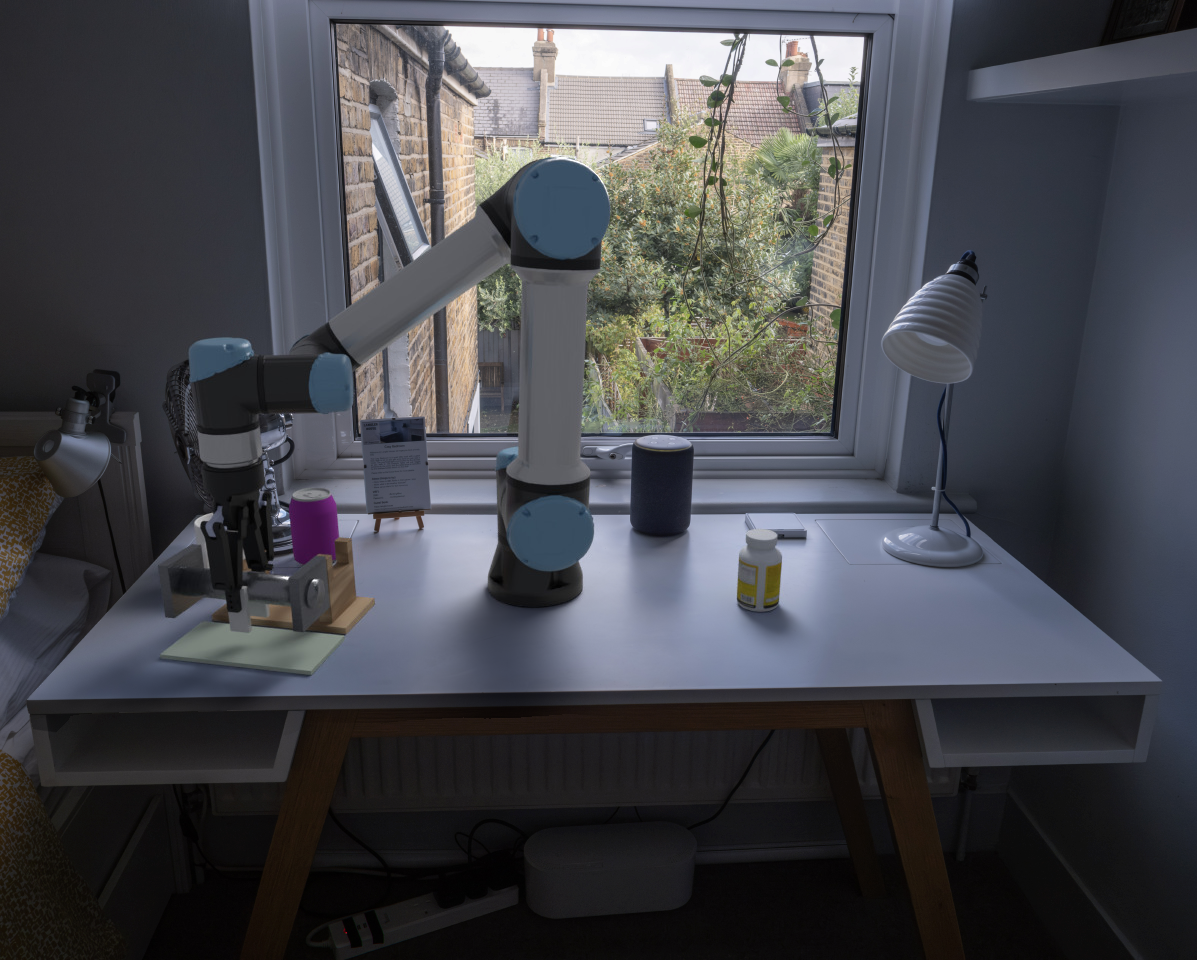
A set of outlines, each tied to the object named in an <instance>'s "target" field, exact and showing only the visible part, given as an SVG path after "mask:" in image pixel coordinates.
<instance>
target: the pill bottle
mask: <svg viewBox="0 0 1197 960" xmlns="http://www.w3.org/2000/svg"><path fill="white" fill-rule="evenodd" d="M745 543H746V545H744V546H743V547H741V549H740V551H739V552H738V553H739V554H738V564H737V565H738V567H737V568H738V569H737V584H736V585H737V586H736V589H737V590H736V601H737V604H738V605H739V606H740V607H741V608H743V609H745V610H748V611H751V612H760V613H762V612H771V611H772V610H775V609H776V608H777V607H778V606H779V603H780V595H781V593H780V592H781V580H782V565H783V564H782V563H783V554H782V552H781V551H780V549H778V548H777V544H778V534H777V533H776V532H775V531H774V530H771V529H767V528H754V529H749V530H748V531H747V532H746V533H745Z"/></svg>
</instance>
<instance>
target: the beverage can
mask: <svg viewBox="0 0 1197 960" xmlns="http://www.w3.org/2000/svg"><path fill="white" fill-rule="evenodd" d="M337 505H338V504H337V502H336V501H335V498H334V496H333V494H332V493H331V490H330V489H328V488H325V487H306V488H302V489H301V488H300V489H298V490H296V491H294V492H293V493H292V494H291V499H290V501H289V506H288V514H289V517H288V518H289V525H290V534H291V535H290V536H291V545H292V552H293V553H292V554H293V559H294V561H295V562H296V563H298V564H299V565H300V566H301V567H303V566H304V565H305V564H306V563H308V562H309V561H310V560H311V559H312V558H314V557H315V556H317V555H318V554H325V555H332V564H333V563H334V562H336V553H335V540H336V539H338V538H339V537H340V530H339V521H338V520H339V518H338V507H337Z"/></svg>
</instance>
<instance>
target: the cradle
mask: <svg viewBox="0 0 1197 960" xmlns="http://www.w3.org/2000/svg"><path fill="white" fill-rule="evenodd" d="M265 552H266V550H265ZM335 553H336V560H335V562H336V563H335V564H333V563H332V555H325V554H318V555H317V556H325V557H326V567H327V580H328V592H329V604H330V607H329V608H328V609H327V610H326V611H325V612H324V613H323V614H322V615H321V616H320V617H319V618H318V619H317V620H316V621H315V622H314V623H313V624H312V625H311V626H309V627H308V628H307V629H306V630H305V631H309V632H311V631H312V632H318V633H328V634H331V633H332V634H338V635H340V634H341V635H347V634H348V633H349V632H350V631H351V630H352V629H353V628H354V627H355V626H356V625H357V623H359V622H360V620H361V619H362V618H364V617H365V615H366V614H367V613H368V612H369V611H370V610H371V609H372V608H373V607H374V606H375V605H376V600H375V599H376V598H375V597H367V596H365V597H364V596H357V590H356V589H357V588H356V577H355V576H356V575H355V566H354V562H355V561H354V554H353V553H354V551H353V539H352V537H341V536H339V538H338V539H336V540H335ZM268 564H270V563H269V562H268ZM246 571H251V569H249V568H248V566H247V562H246V558H245V559H244V560H243V572H246ZM265 571H266V570H265ZM270 572H271V571H266V574H271V573H270ZM269 612H270V615H269V616H268V617H257V616H250V618H251V626H260V627H262V626H263V627H270V628H279V629H289V630H293V622H292V612H291V607H290V606H281V605H271V604H269ZM211 617H212V618H211V619H212V622H214V621H215V622H221V623H229V614H228V610H227V604H226V603H225V604H223V605H222V606H221V607H219V608H218V609H217V610H215V611H214V612H213V613H212V614H211Z"/></svg>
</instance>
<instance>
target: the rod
mask: <svg viewBox="0 0 1197 960" xmlns="http://www.w3.org/2000/svg"><path fill="white" fill-rule="evenodd" d="M157 569H158V576H159V582H160V590H161V597H162V604H163V611H164V618H168V619H176V618H178V617H179V616H180V615H181V614H183V613H185V612H186V611H188V609H190V608H191V607H192V606H193V605H195V604H197V603H198V602H199V601H201V600H203V599H205V598H206V599H213V600H215V599H216V600H225V601H226V596H225V591H222V590H214V589H213V587H212V581H211V575H210V568H204V563H203V555H202V547H201V545H197V543H196V544H195V543H191V544H190V545H189V546H186V547H185V548H184V549H181V550H180V551H178V552H177V553H176V554H173V556H170V557H169V558H167V559H166V560H164V561H162V562H161V563H159V564H157ZM243 586H247V591H248V600H249V602H252V603H262V604H271V605H281V606H290V607H291V612H292V622H293V629H292V630H293V631H295V632H306V631H307V630H306V629H307V628H308V627H309V626H311V625H312V624H313V623H314V622H315V621H316V620H317V619H318V618H319V617H320V616H321V615H322V614H323V613H324V612H325V611H326V610H327V609H328V608H329V607H330V604H329V592H328V580H327V567H326V557H325V556H315V557H314V558H312V559H311V560H310V561H309V562H308V563H306V564H305V565H304V566H301V567H300V568H299V569H298V570H297V571H295V572H293V574H291V575H282V574H273V573H272V574H271V573H270V574H263V573H253V572H243Z"/></svg>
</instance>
